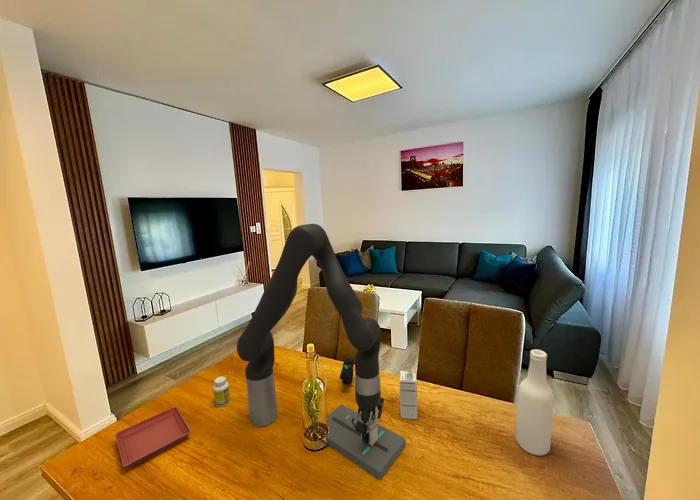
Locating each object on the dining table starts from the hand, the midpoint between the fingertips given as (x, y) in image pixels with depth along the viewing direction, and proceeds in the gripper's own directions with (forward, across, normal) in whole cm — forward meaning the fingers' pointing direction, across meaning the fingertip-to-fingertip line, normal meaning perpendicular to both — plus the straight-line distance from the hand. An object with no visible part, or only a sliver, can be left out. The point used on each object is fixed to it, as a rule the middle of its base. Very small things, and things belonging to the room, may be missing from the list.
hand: (369, 437), depth 90 cm
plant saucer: (+4, +40, -59) cm, 71 cm away
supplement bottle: (+4, +17, -58) cm, 60 cm away
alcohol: (+4, -30, +38) cm, 49 cm away
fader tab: (+1, 0, 0) cm, 1 cm away
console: (+4, 0, -5) cm, 6 cm away
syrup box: (+4, -20, +2) cm, 21 cm away
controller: (+4, -20, -26) cm, 33 cm away
